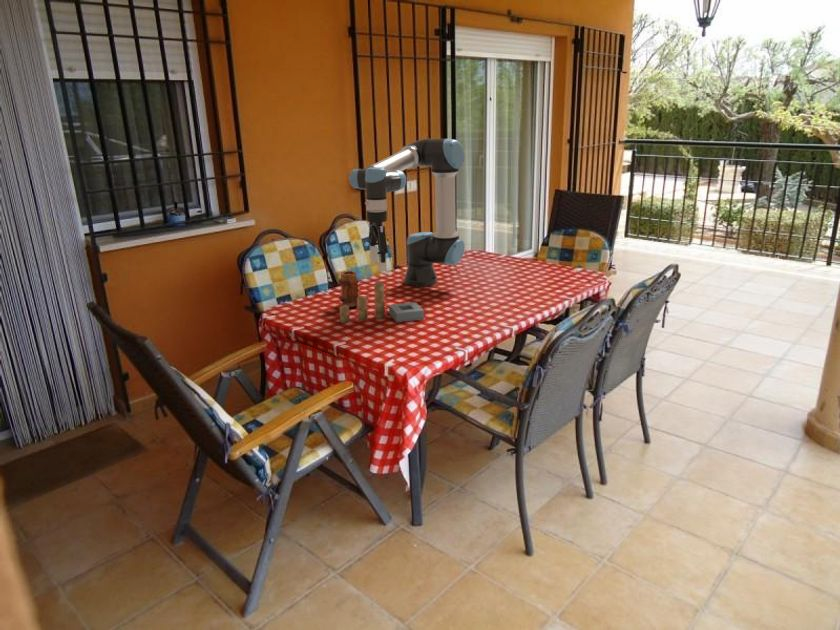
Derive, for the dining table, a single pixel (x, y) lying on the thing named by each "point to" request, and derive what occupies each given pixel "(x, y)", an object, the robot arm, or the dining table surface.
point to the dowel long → (379, 300)
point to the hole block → (406, 312)
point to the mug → (349, 288)
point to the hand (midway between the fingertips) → (378, 266)
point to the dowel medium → (362, 308)
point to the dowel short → (344, 314)
